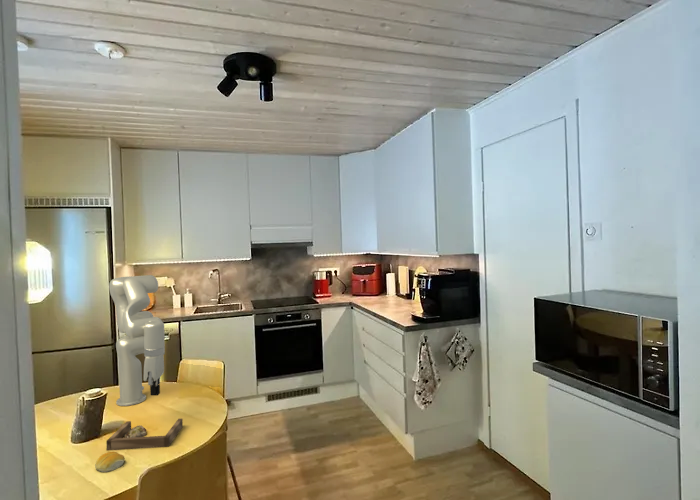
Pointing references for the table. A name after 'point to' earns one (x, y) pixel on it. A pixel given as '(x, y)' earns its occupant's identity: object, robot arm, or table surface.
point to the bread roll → (109, 461)
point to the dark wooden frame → (141, 438)
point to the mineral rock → (136, 432)
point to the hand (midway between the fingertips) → (155, 394)
